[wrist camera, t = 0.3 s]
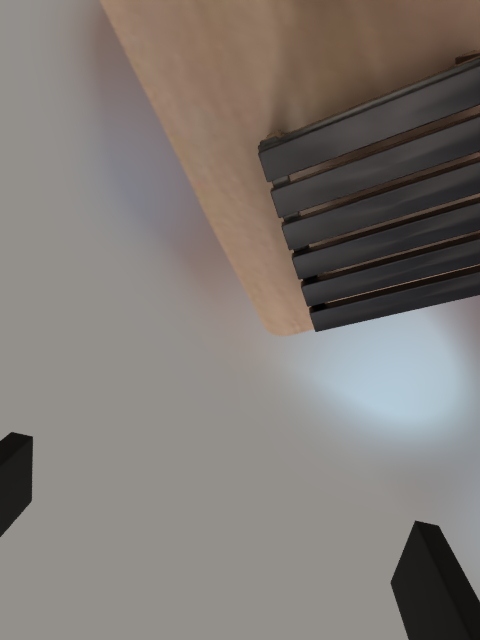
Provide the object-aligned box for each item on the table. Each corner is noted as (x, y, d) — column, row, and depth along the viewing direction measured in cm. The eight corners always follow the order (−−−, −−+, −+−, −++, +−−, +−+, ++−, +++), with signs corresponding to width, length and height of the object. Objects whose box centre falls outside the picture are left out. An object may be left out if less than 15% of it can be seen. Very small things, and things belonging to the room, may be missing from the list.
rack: (476, 45, 25) (571, 22, 17) (484, 248, 33) (553, 306, 24) (264, 133, 30) (251, 150, 21) (313, 293, 38) (318, 354, 29)
